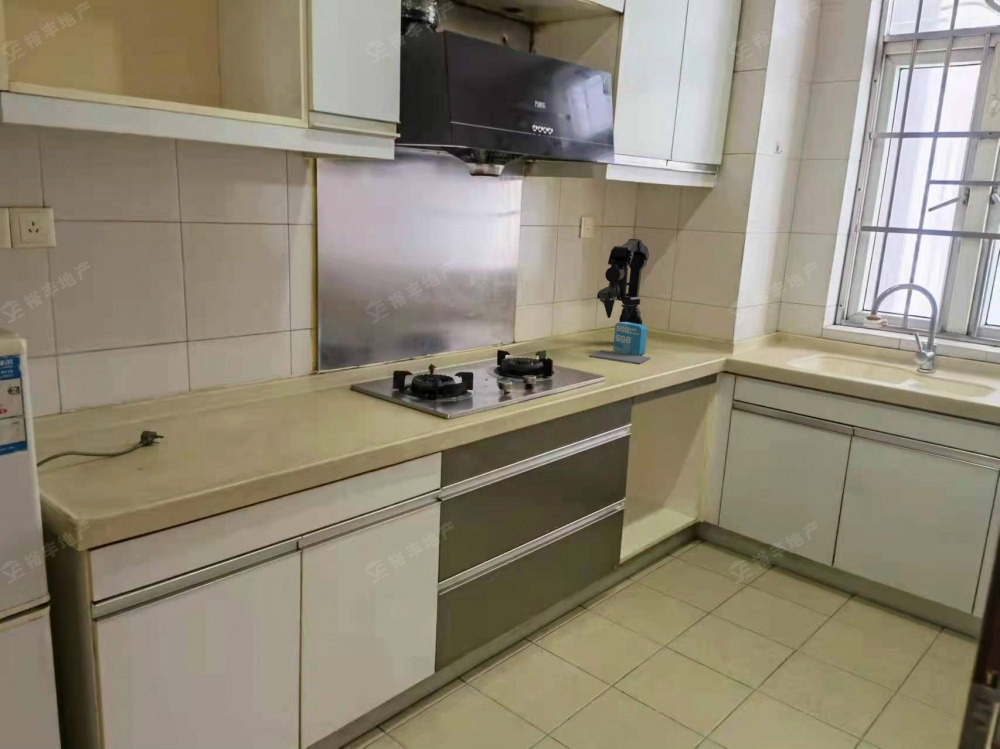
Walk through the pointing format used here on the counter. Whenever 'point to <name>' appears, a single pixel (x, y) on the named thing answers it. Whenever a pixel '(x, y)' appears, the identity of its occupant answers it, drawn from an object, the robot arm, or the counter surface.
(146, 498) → the counter surface
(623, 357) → the mat
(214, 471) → the counter surface
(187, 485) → the counter surface
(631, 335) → the light blue flat block
